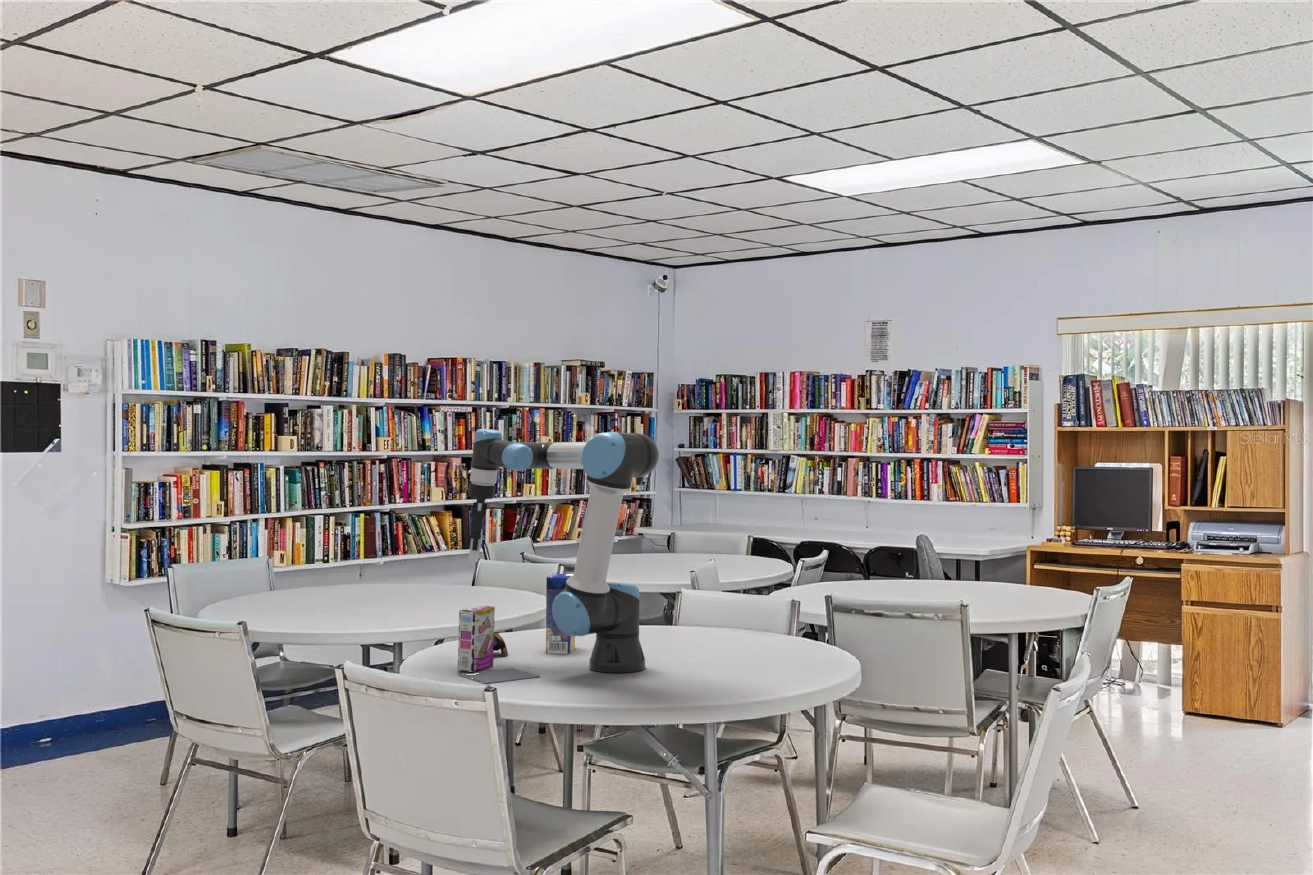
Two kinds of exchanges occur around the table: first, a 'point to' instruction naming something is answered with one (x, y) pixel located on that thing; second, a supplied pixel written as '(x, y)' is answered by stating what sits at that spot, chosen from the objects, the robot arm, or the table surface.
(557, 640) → the beverage box
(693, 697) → the table surface
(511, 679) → the mat
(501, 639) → the brown curved piece
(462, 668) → the candy bar box
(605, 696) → the table surface
